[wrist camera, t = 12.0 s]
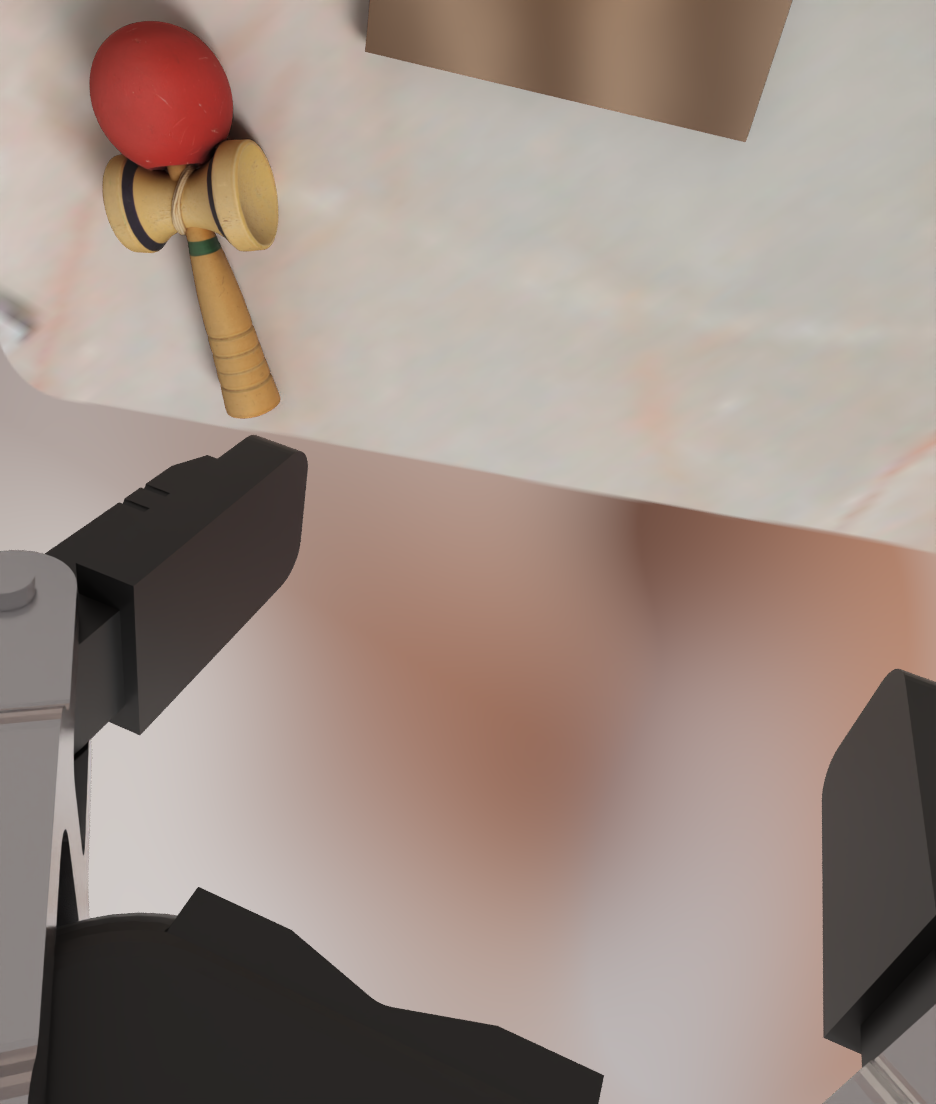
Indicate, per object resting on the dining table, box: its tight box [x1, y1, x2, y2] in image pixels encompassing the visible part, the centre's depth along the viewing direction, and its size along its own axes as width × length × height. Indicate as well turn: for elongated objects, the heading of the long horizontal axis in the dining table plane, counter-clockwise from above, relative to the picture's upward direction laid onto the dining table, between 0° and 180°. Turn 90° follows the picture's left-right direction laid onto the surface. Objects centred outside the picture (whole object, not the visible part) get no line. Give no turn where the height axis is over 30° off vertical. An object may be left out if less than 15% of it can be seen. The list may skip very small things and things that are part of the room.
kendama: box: [90, 21, 280, 419], centre depth 41 cm, size 8×6×18 cm
